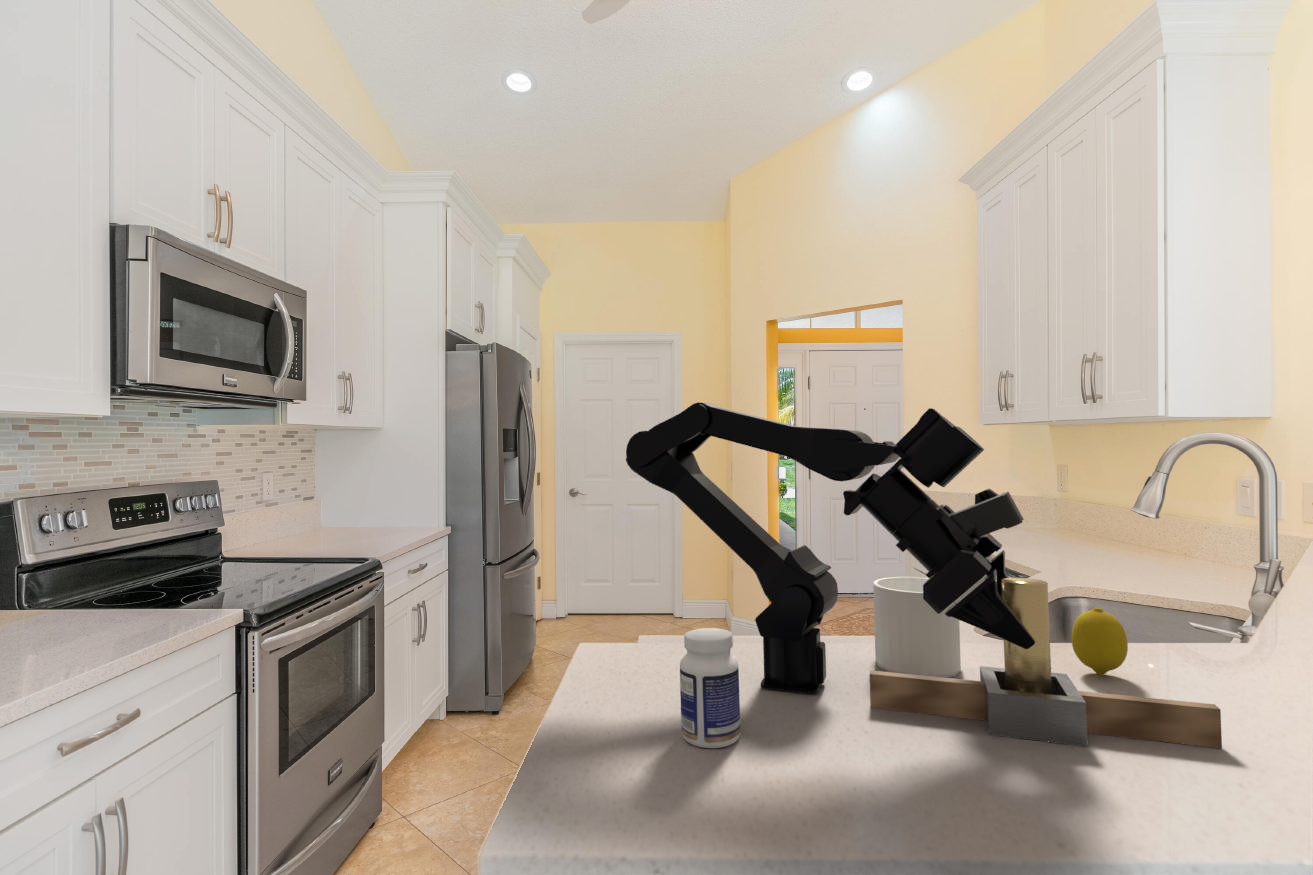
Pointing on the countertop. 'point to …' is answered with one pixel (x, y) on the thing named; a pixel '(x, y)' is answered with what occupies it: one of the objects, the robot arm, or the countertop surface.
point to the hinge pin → (1031, 608)
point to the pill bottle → (709, 689)
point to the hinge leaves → (1102, 709)
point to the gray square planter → (1035, 710)
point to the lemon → (1099, 641)
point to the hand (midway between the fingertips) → (1032, 633)
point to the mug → (913, 631)
